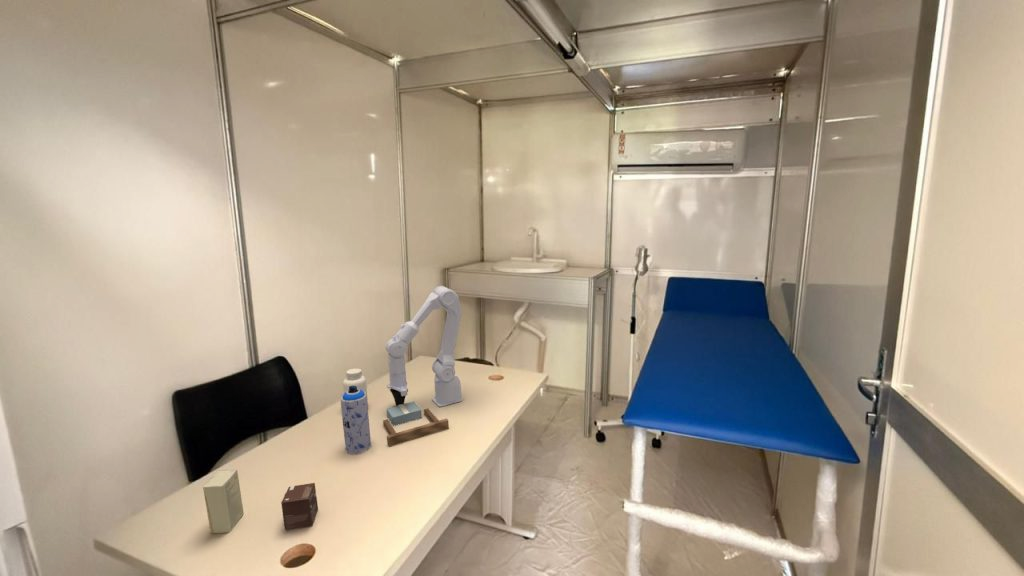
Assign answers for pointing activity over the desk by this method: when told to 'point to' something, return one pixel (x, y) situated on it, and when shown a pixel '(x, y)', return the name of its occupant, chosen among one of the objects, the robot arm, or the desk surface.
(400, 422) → the carton
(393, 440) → the stand
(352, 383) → the pill bottle
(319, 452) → the desk surface
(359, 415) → the aerosol can
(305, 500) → the box
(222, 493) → the skincare box
